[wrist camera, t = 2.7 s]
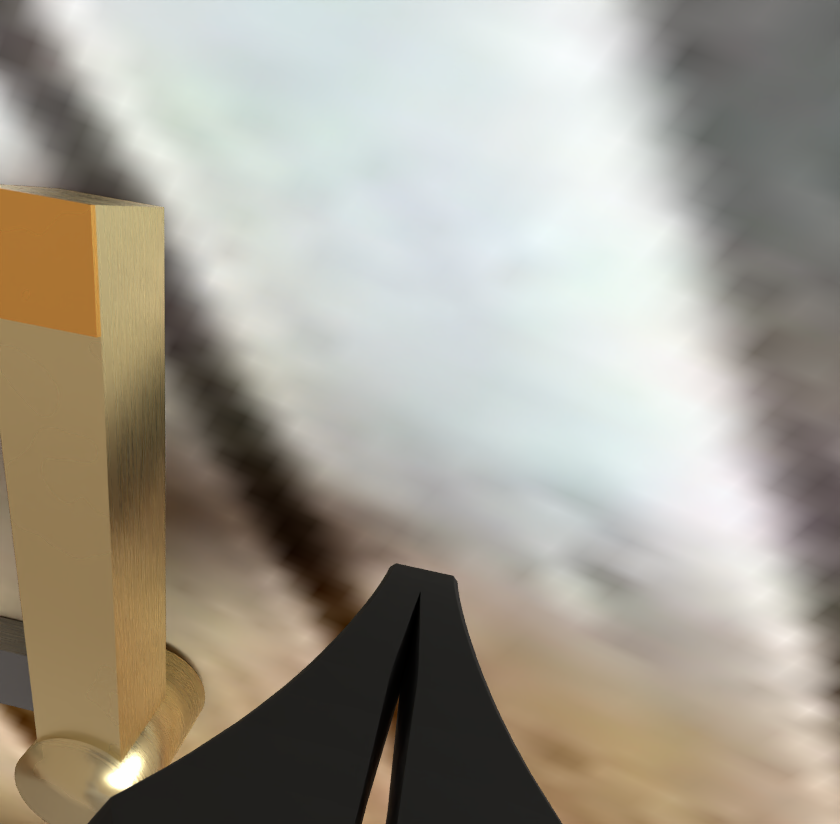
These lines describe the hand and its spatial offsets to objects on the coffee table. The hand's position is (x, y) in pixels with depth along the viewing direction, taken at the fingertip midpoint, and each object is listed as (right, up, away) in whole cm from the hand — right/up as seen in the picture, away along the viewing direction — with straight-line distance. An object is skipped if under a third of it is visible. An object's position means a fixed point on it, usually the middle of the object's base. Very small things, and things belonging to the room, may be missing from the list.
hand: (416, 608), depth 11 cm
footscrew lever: (-6, +2, +2) cm, 7 cm away
